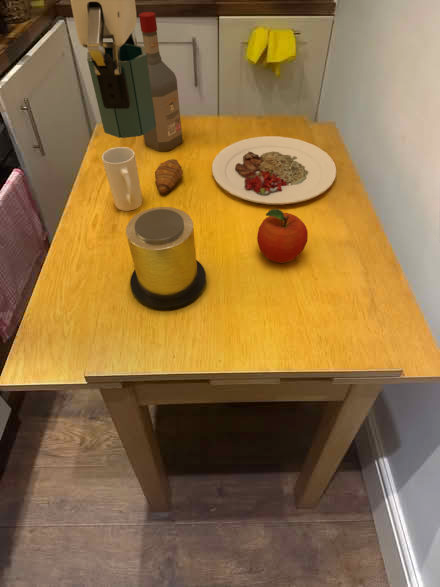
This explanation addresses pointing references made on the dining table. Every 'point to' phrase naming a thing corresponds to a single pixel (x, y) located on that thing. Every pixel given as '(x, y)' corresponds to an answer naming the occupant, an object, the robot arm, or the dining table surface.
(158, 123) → the liquor
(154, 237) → the towel holder
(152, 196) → the dining table surface
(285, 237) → the fruit
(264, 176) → the plated food
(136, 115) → the teal cup
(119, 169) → the mug
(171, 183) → the croissant
